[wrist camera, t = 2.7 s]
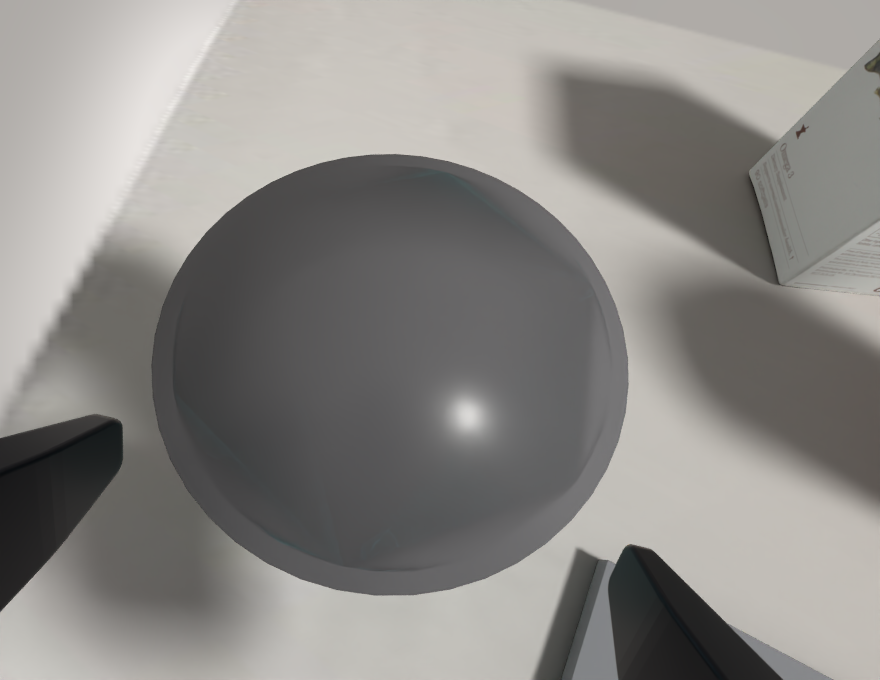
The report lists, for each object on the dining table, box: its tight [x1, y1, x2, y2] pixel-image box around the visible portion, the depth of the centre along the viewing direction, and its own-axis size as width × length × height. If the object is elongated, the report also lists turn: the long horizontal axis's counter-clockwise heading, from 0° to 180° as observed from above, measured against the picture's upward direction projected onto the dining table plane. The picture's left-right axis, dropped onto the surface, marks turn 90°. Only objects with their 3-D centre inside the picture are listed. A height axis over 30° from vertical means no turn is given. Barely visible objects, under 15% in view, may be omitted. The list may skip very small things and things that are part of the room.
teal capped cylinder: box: [152, 154, 628, 595], centre depth 11 cm, size 5×5×13 cm
